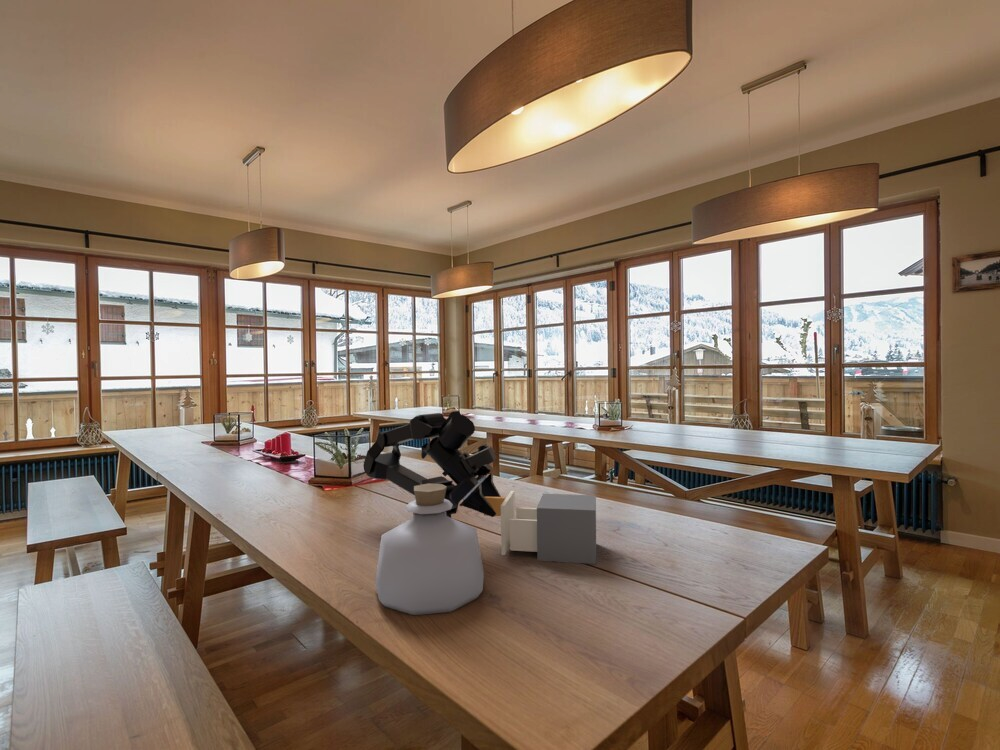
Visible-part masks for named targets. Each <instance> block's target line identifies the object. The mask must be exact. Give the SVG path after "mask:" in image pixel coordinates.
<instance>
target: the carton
mask: <svg viewBox="0 0 1000 750" xmlns="http://www.w3.org/2000/svg"><path fill="white" fill-rule="evenodd" d="M596 497H597V495H595V494H568V493H567V494H566V493H561V494H560V493H542V495H541V497H540V500H539V502H538V504H537V506H536V508H537V552H536V554H537V562H538V561H539V562H552V561H557V562H556V563H571V564H572V563H573V564H585V565H586V564H589V565H597V498H596Z"/></svg>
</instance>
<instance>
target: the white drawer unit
mask: <svg viewBox="0 0 1000 750" xmlns="http://www.w3.org/2000/svg"><path fill="white" fill-rule="evenodd" d="M485 498H486V500H487V501H488V502H489V504H490V505H491V506H492V508H493V509H494V511H495V512H496V515H495V516H494V517H500V543H501V546H500V549H501V552H500V553H501V556H506V554H507V552H508V550H509V551H516V552H517V551H518V552H533V553H534V552H535V553H537V507H535V508H534V507H515V506H516V505H515V503H516V502H515V490H510V492H509V493H508V495H507V496H501V497H486V496H485ZM483 516H488V515H486V514H483Z"/></svg>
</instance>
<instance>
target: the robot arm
mask: <svg viewBox="0 0 1000 750" xmlns="http://www.w3.org/2000/svg"><path fill="white" fill-rule="evenodd" d="M475 430H476V428H475V424H474V422H473V420H471V419H470V418H469V417H468V416H466V415H463V414H461V412H460V410H455V411H451V412H450V413H449V415H448V417H447V418H445V417H444V415H443V413H441V412H436V413H424V414H417V415H416V416H414V417H413V418H411V419H410V420H409V423H407V424H405V425H404V424H403V425H402V426H399V427H395V428H392V429H390V430H387V431H386V430H385V431H381V432H379V433H378V435H377V437H376V440H375V442H374V443H373V444H372V445H371V446H370V447H369V449H368V450H367V452H366V455H365V458H364V461H363V465H362V467H363V471H364V473H365V474H366V476H367V477H369V478H371V479H375V480H388V481H389V482H391V483H393V484H394V485H396V486H397V487H399V488H401V489H403V490H405V491H406V492H408V493H409V494H411V495H413V496H415V493H414V486H417V485H423V484H428V483H430V484H443V485H445V486H447V489H446V493H445V498H444V499H447V500H449V501H450V502H451V503H452V504H453V506H452V508H451V509H450V510H447V511H446V516H448V517H450V518H452V515H455V514H457V512H458V507H459V506H460V507H464V508H467V509H470V510H473V511H475V512H478V513H481V514H483V515H484V514H486V515H488V516H489V517H491V518H493V517H496V516H495V515H496V512H495V511H494V509H493V508H492V506H491V505H490V504H489V502H488V501H487V500H486V498H485V496H486V497H502V496H501V494H500V492H499V490H498V489H497V487H496V485H495V483H494V479H493V478H494V471H492V470H493V469H494V467H493V466H491V465H490V464H492V463H494V462H495V460H498V458H497V456H496V454H495V452H496V451H495V448H493V447H492V446H491V445H490V446H489V445H488V444H486V443H484V444H482V445H480V446H478V448H477V449H478V450H477V452H475V453H473V454H471V455H470V454H469V453H468V452H463V453H462V451H461V450H460V449H461V448H462V447H463V446H464V444H465V443H467V441H468V440H469V439H470V438H471V437H472V435H473V434H475ZM429 439H431V440H430V441H429V443H424V444H423V445H422V446H421V447H420V449H421V455H420V456H421V459H426V458H427V457H428V456H429V457H430V458H431V459H432V460H433V461H434V462H435V463H436V465H438V466H439V467H440V468H441V470H442V473H441V474H442V475H443V476H442V475H440V476H435V477H431V478H426V477H424V476H423V475H421V474H419V473H418V472H415V471H413V470H411V469H409V468H407V467H406V466H404V465H402V464H401V462H400V459H401V456H402V455H401V450H400V444H402V443H406V442H409V441H413V440H429ZM389 447H392V451H390V452H384V453H382V452H383V451H384V450H385V448H389ZM490 472H491V473H490ZM489 473H490V474H489ZM447 476H448V477H449V478H450V479H451V480H449V479H447V478H446V477H447ZM453 482H454V483H455V484H456V485H455V484H454V483H453ZM486 515H485V516H486Z"/></svg>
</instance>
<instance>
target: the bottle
mask: <svg viewBox="0 0 1000 750" xmlns="http://www.w3.org/2000/svg"><path fill="white" fill-rule="evenodd" d="M446 489H447V486H445V485H443V484H430V483H428V484H423V485H417V486H414V493H415V495H414V500H412V501H409V503H408V504H407V505H406V506H405V510H406V511H407V512H408V513H412V518H410V519H407V520H406V521H405V522H402V523H401V524H399V525H397V526H396V527H393V528H392V529H390V530H388V531H387V532H385V533H383V534H382V535H381V538H380V545H379V552H378V559H377V567H376V573H375V581H374V585H375V588H376V592H377V597H378V600H379V602H380V603H381V604H382V605H383V606H384V607H385V608H388V609H392V610H394V611H395V610H396V611H398V612H402V613H404V614H407V615H408V614H409V615H410V616H421V615H430V614H439V613H450V612H453V611H455V610H457V609H459V608H461V607H463V606H465V605H467V604H469V603H471V602H472V601H475V600H476V599H478V597H479V596H480V595H481V593H483V591H484V590H483V589H484V581H485V580H484V578H485V572H484V565H483V560H482V554H481V549H480V543H479V535H478V529H477V528H476V527H474V526H472V525H469V524H466V523H464V522H461V521H459V520H457V519H455V518H453V517H451V518H450V517H448V516H446V511H447V510H450V509H451V508H452V506H453V504H452V503H451V502H450V501H449V500H447V499H444V498H445V493H446Z"/></svg>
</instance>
